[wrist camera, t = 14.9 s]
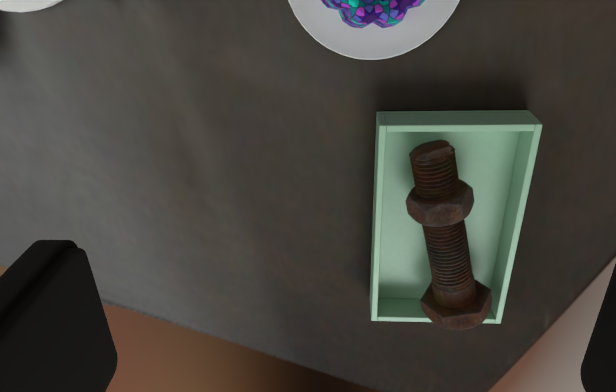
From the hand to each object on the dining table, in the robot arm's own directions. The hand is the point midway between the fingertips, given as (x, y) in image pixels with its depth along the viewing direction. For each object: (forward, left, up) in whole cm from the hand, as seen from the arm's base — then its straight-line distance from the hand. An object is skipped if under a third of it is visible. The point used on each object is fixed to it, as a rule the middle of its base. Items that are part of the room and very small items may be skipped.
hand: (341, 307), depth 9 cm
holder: (+8, -15, -28) cm, 33 cm away
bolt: (+8, -15, -28) cm, 33 cm away
